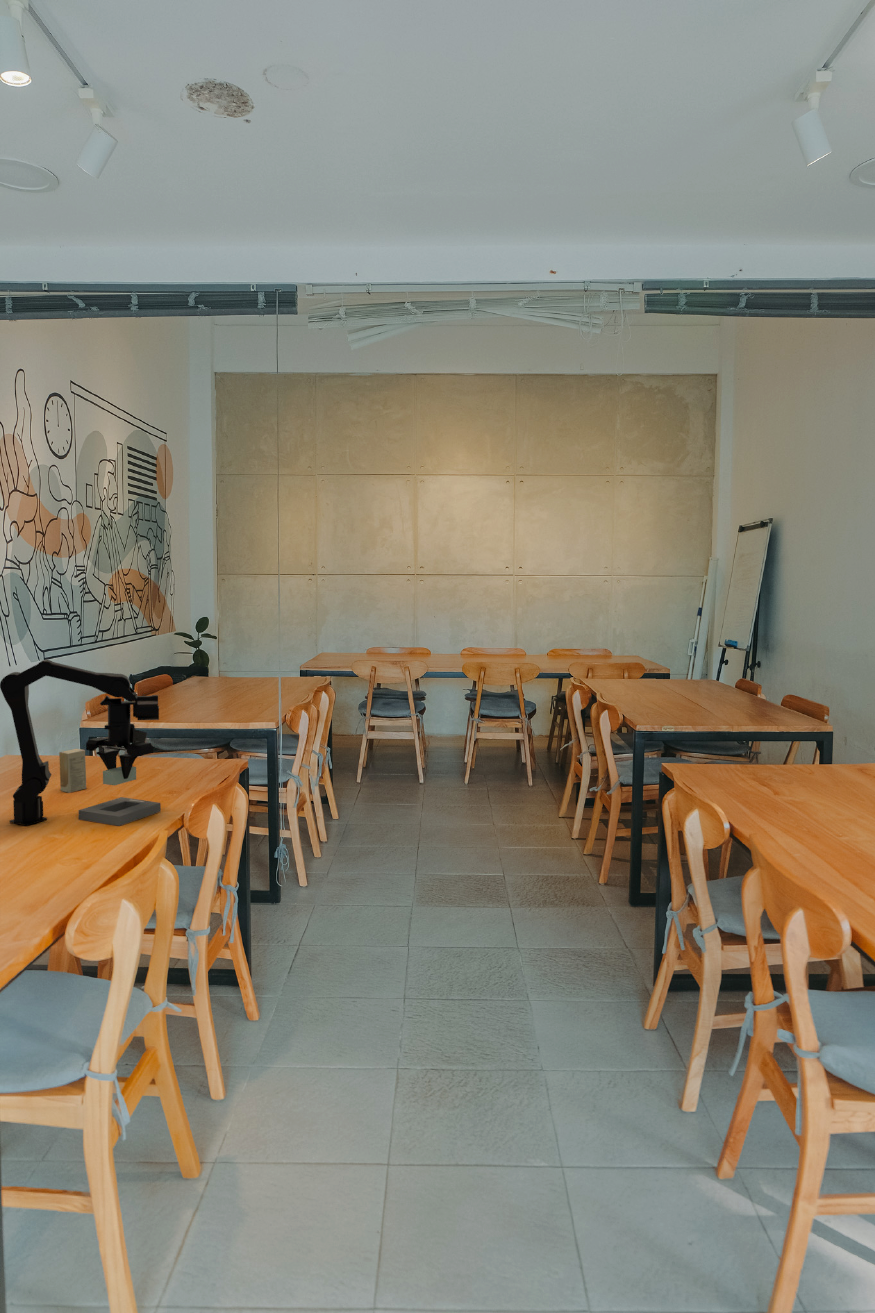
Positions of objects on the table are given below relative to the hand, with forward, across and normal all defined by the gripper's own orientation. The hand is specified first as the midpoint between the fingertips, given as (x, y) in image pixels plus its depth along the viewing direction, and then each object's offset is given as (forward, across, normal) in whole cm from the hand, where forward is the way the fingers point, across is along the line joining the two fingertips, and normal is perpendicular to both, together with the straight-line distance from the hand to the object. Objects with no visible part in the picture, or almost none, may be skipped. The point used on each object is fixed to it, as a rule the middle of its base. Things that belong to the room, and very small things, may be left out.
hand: (119, 777), depth 220 cm
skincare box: (+11, +33, -15) cm, 38 cm away
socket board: (+10, 0, 0) cm, 10 cm away
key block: (+1, 0, 0) cm, 1 cm away
